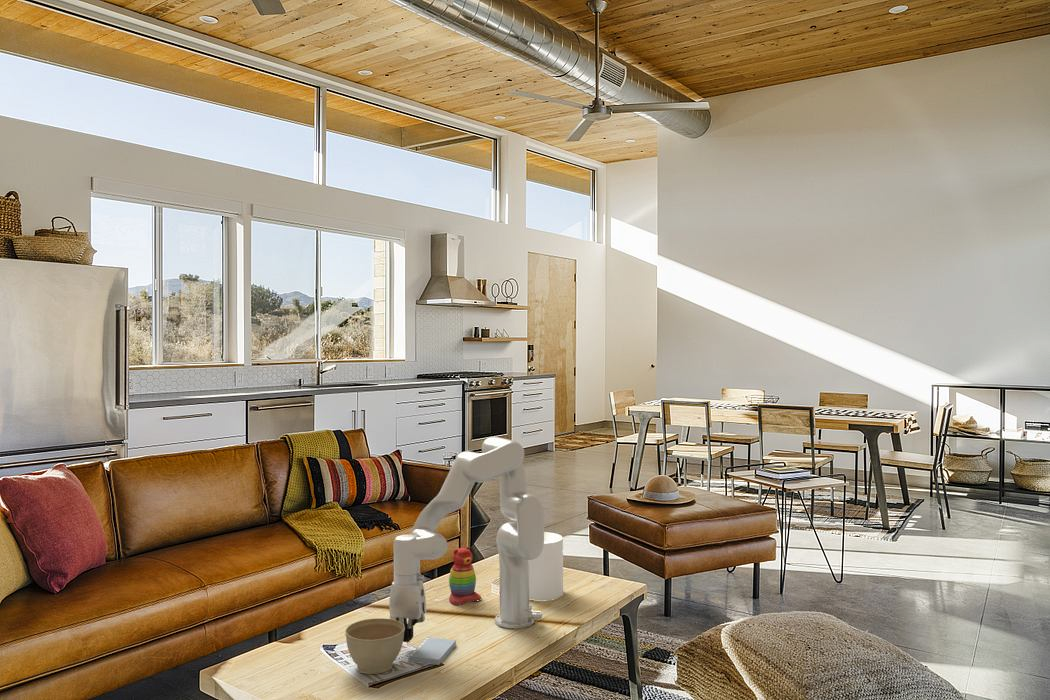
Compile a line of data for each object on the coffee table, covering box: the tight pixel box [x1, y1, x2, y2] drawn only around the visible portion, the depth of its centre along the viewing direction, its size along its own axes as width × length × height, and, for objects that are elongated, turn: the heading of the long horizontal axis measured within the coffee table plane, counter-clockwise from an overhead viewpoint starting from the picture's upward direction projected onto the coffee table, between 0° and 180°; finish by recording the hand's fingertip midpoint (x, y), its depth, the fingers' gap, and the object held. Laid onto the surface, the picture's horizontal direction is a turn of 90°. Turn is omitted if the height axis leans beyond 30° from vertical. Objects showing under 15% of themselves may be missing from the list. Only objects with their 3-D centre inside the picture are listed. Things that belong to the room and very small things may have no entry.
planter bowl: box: [344, 617, 405, 675], centre depth 209 cm, size 16×16×11 cm
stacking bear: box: [448, 546, 482, 606], centre depth 263 cm, size 11×10×18 cm
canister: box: [528, 531, 564, 601], centre depth 268 cm, size 16×16×20 cm
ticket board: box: [408, 636, 457, 666], centre depth 218 cm, size 9×14×2 cm, turn 166°
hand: (407, 640), depth 221 cm, fingers closed
